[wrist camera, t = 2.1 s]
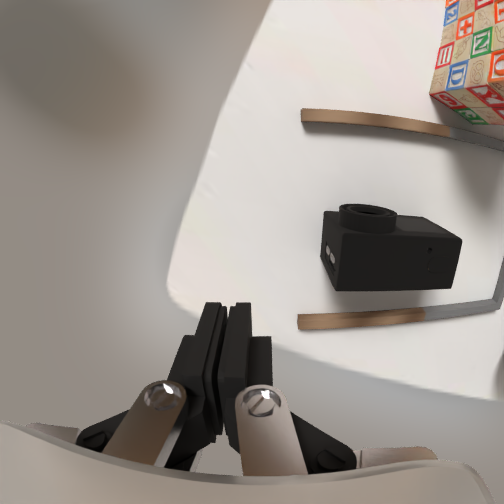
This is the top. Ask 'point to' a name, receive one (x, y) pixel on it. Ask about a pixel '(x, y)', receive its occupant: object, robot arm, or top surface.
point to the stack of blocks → (472, 61)
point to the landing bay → (500, 292)
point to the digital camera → (386, 250)
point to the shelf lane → (378, 121)
